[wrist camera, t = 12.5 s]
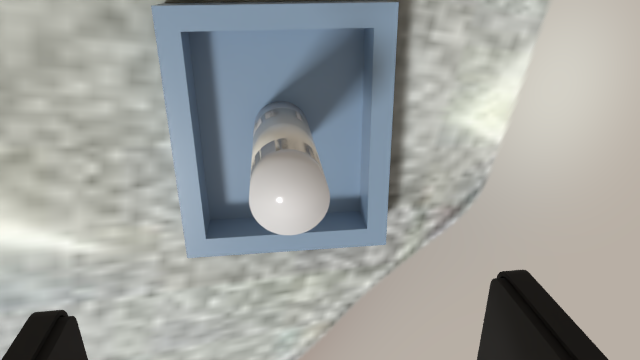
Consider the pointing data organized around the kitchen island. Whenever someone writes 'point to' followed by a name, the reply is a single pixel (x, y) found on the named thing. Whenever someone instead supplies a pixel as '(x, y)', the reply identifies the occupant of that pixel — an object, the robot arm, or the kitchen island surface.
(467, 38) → the kitchen island surface
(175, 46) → the parts tray
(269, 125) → the white rounded cylinder piece
